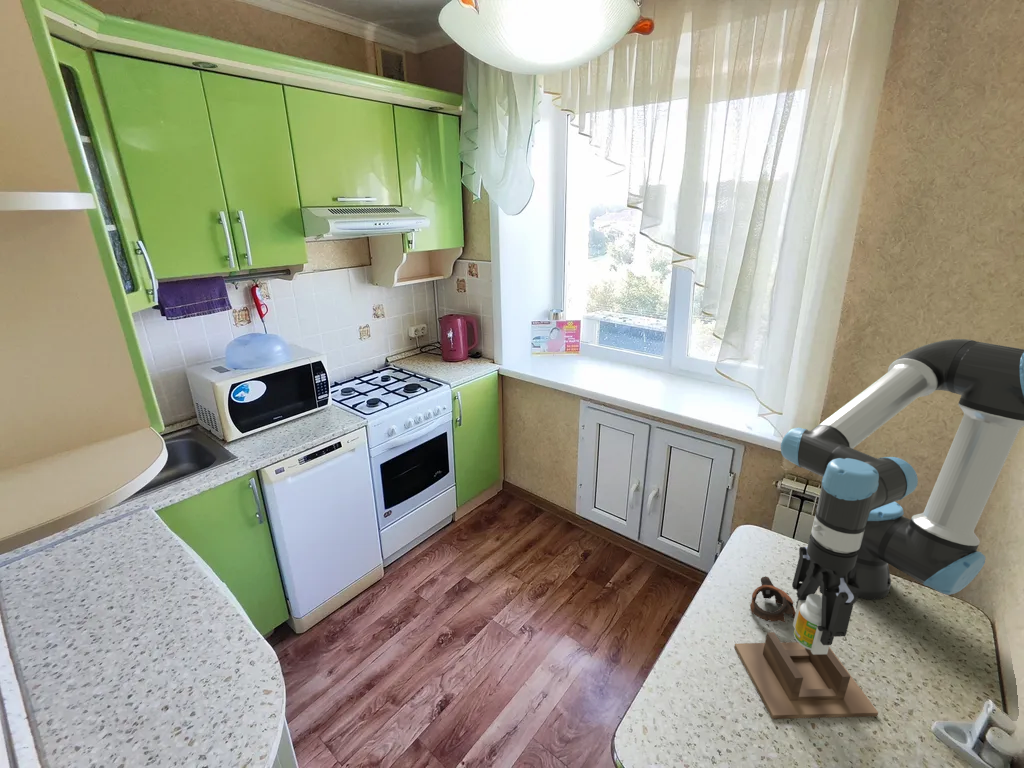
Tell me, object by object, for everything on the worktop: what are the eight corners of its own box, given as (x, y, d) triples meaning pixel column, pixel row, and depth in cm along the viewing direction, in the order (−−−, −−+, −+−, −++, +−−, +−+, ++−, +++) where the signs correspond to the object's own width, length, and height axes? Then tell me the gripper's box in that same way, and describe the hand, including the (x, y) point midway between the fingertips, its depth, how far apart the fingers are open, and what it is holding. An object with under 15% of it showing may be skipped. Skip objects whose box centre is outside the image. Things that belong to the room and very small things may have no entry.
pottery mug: (805, 630, 110) (798, 612, 106) (763, 639, 113) (755, 622, 109) (783, 583, 120) (776, 565, 116) (744, 592, 123) (736, 575, 119)
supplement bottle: (798, 649, 93) (808, 609, 90) (789, 627, 98) (798, 589, 94) (829, 654, 92) (840, 614, 88) (819, 631, 96) (829, 593, 93)
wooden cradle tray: (824, 644, 106) (830, 620, 103) (877, 716, 91) (886, 689, 88) (734, 647, 106) (738, 622, 103) (772, 719, 91) (778, 692, 88)
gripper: (785, 511, 96) (766, 604, 103) (847, 577, 78) (819, 682, 86) (823, 511, 96) (801, 603, 103) (893, 576, 78) (860, 681, 86)
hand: (809, 639), depth 95 cm, fingers closed on supplement bottle, 5 cm apart
